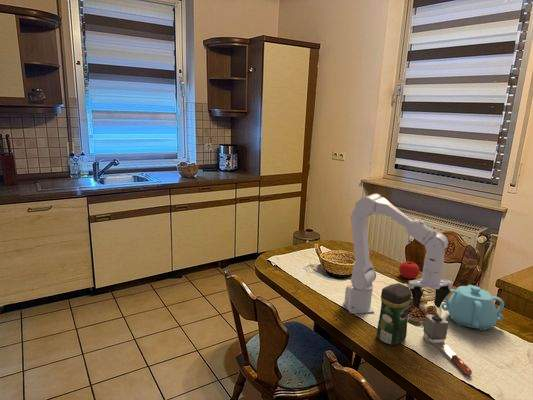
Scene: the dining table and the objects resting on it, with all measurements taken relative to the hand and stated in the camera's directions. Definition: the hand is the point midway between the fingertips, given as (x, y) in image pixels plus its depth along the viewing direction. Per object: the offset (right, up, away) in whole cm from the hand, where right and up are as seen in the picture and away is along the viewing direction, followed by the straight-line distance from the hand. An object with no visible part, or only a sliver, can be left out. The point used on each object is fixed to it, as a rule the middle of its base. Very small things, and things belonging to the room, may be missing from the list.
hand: (426, 306), depth 124 cm
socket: (+1, -9, -3) cm, 9 cm away
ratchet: (+2, -12, -10) cm, 16 cm away
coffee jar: (-13, -10, -3) cm, 17 cm away
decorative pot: (+20, -8, +9) cm, 23 cm away
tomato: (+11, 0, +44) cm, 46 cm away
